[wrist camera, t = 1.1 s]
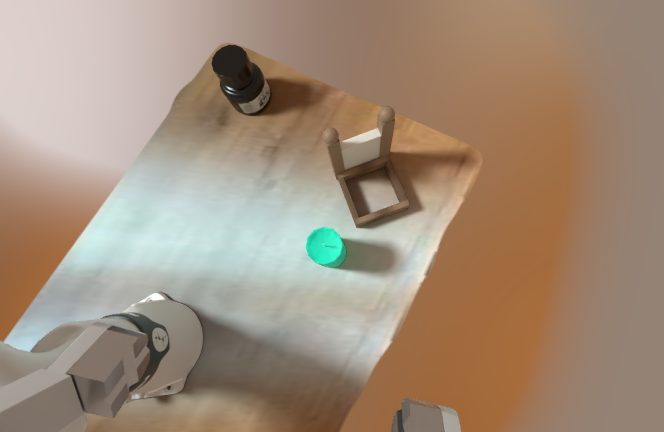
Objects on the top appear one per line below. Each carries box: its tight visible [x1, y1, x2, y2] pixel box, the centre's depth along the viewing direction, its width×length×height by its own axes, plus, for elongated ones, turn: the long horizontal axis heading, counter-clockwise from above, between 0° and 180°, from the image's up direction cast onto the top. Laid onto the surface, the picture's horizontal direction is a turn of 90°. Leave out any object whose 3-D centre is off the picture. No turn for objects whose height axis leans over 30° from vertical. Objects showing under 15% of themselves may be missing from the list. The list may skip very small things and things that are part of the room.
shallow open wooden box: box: [337, 155, 410, 228], centre depth 62 cm, size 10×10×3 cm
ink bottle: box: [212, 45, 271, 115], centre depth 65 cm, size 10×9×12 cm
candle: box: [306, 227, 347, 268], centre depth 56 cm, size 6×6×12 cm
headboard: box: [323, 106, 395, 180], centre depth 56 cm, size 11×2×18 cm, turn 110°
